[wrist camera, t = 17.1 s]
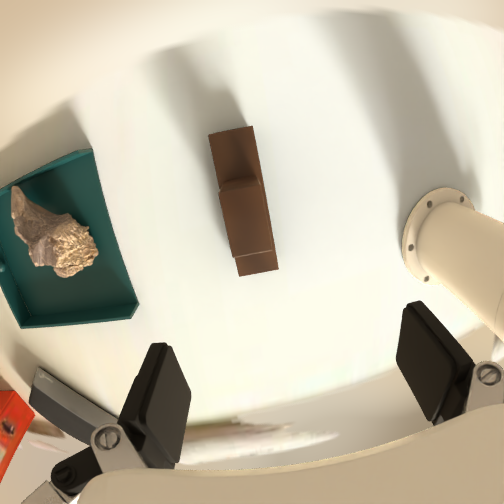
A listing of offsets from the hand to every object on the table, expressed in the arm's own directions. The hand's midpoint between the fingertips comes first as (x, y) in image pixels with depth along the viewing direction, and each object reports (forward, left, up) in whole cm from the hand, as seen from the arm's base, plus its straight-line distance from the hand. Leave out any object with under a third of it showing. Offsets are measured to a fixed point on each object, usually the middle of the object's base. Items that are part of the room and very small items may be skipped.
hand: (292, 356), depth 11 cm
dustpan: (+32, -2, -20) cm, 38 cm away
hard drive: (+40, +28, -20) cm, 53 cm away
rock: (+24, -5, -20) cm, 31 cm away
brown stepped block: (+1, -2, -20) cm, 20 cm away
